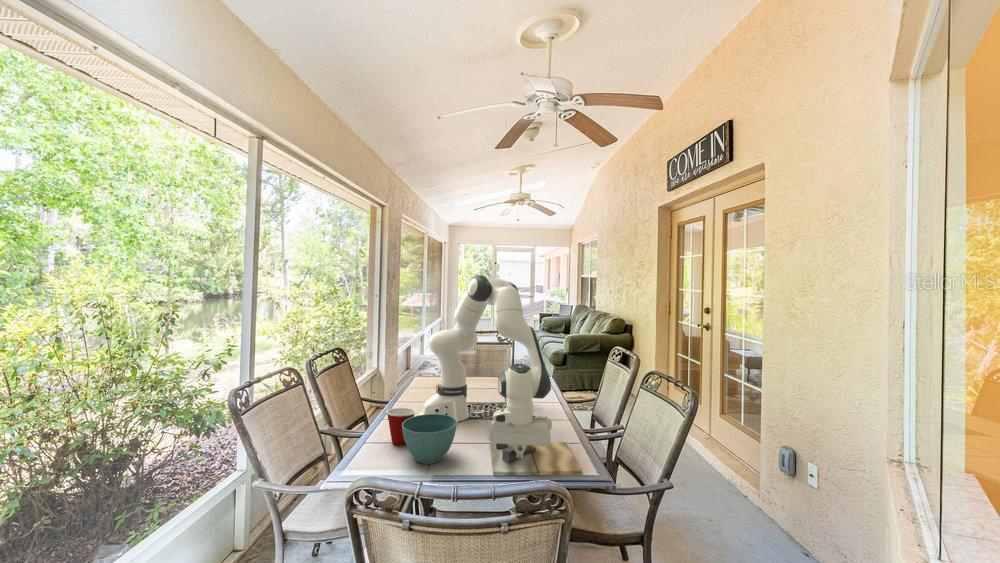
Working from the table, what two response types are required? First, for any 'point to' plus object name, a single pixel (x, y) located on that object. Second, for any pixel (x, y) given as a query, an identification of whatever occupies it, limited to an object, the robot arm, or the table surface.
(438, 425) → the plant pot
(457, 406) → the robot arm
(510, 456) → the latch bar
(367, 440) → the table surface
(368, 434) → the table surface
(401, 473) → the table surface
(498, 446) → the block
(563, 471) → the door board
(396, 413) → the plastic cup
